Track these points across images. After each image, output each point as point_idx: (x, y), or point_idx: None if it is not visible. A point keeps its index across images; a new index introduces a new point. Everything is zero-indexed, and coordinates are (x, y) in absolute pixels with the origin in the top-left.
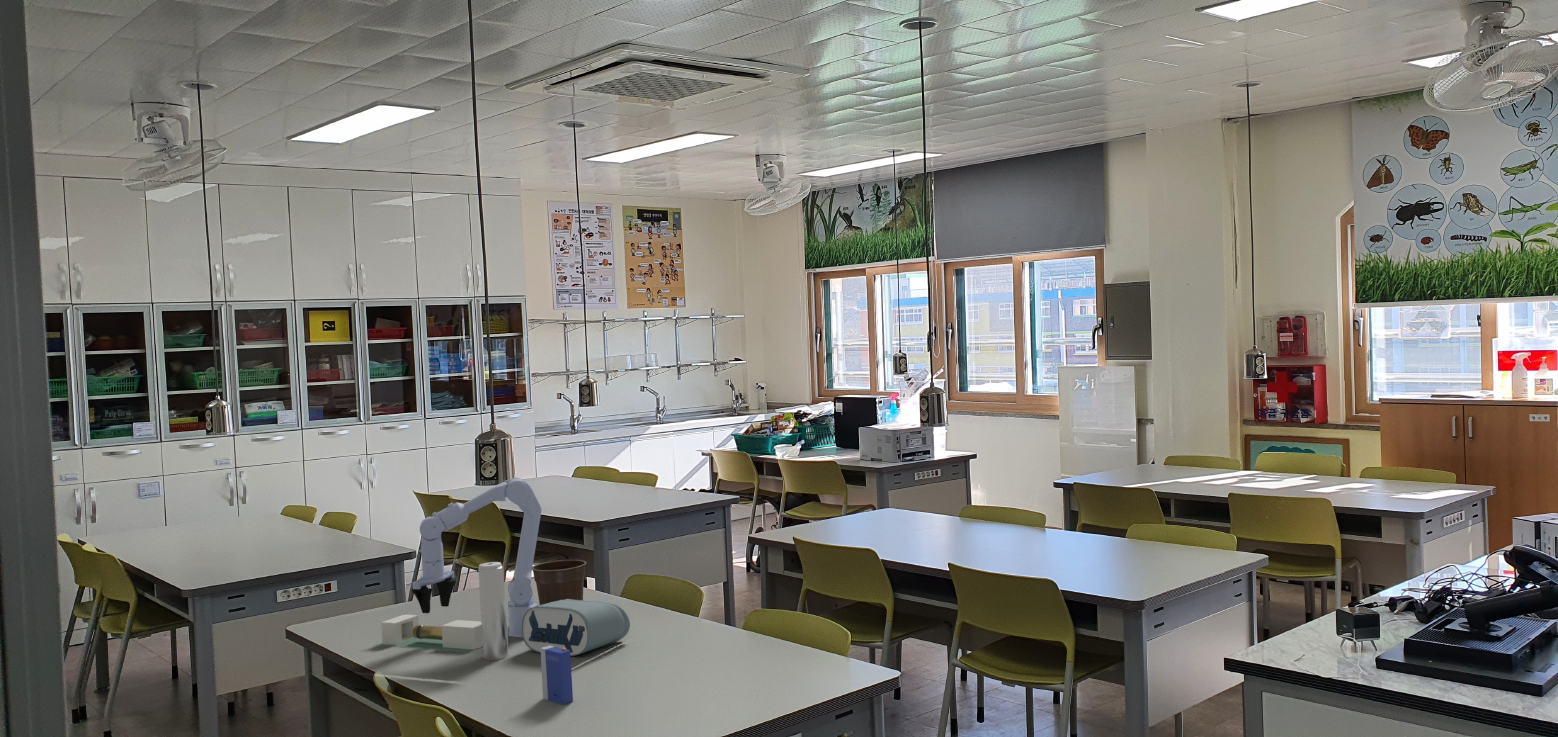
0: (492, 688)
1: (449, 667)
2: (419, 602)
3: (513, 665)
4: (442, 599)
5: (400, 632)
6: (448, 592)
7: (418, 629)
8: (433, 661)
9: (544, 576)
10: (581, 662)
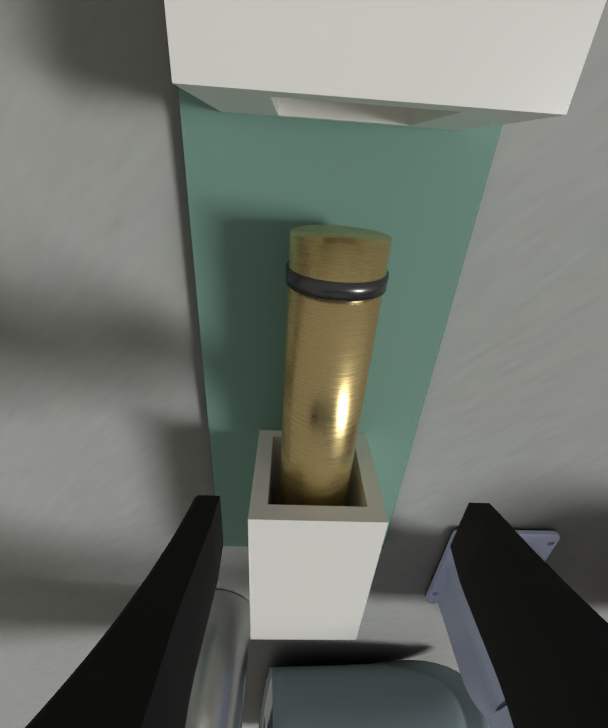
0: (19, 684)
1: (79, 559)
2: (130, 608)
3: None
4: (497, 579)
5: (264, 105)
6: (515, 725)
7: (297, 290)
8: (102, 486)
9: None
10: (245, 715)
